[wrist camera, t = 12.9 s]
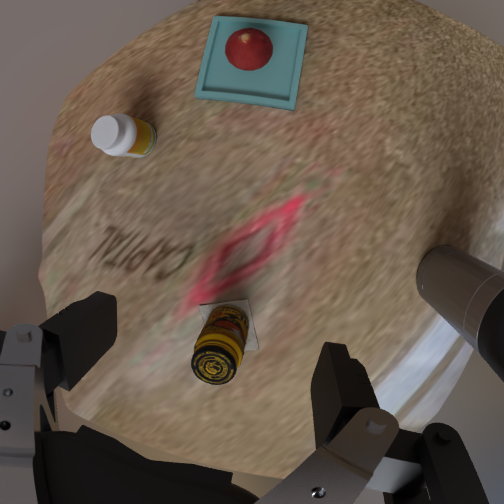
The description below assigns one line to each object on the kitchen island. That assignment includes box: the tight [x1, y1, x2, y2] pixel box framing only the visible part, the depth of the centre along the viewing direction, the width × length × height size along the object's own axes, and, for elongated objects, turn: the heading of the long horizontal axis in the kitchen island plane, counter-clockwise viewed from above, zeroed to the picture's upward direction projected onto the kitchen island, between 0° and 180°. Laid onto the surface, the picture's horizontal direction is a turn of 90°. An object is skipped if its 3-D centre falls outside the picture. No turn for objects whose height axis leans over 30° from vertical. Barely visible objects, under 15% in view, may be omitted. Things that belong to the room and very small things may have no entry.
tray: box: [194, 16, 308, 111], centre depth 34 cm, size 13×13×2 cm
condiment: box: [191, 299, 259, 385], centre depth 38 cm, size 7×8×12 cm
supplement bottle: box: [91, 114, 156, 158], centre depth 34 cm, size 5×5×10 cm
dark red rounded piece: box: [225, 27, 273, 71], centre depth 30 cm, size 6×6×8 cm
